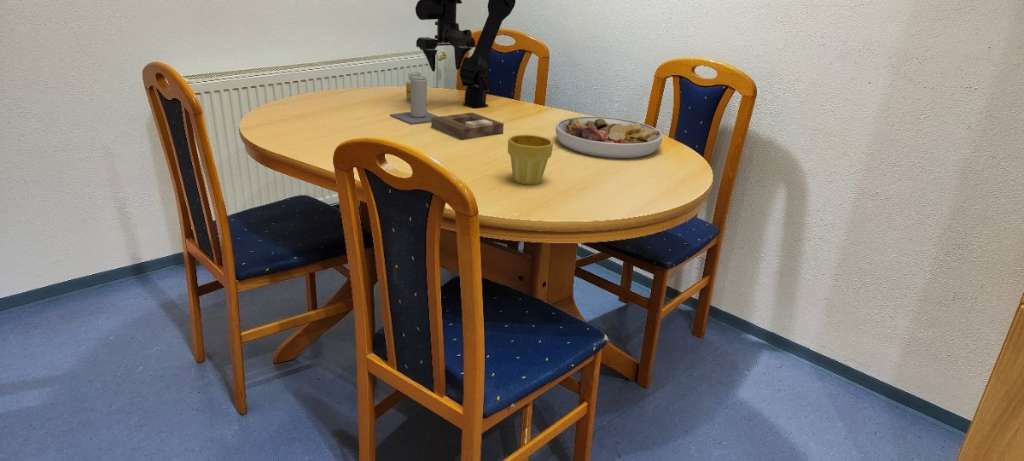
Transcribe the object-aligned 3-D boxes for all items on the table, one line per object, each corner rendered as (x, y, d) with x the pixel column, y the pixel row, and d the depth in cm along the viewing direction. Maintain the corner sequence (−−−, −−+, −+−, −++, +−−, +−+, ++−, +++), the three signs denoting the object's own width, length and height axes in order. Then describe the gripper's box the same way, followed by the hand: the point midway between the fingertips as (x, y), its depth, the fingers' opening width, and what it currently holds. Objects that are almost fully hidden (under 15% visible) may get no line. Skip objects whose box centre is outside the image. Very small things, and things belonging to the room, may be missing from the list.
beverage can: (429, 116, 207) (430, 77, 202) (419, 119, 203) (420, 79, 198) (417, 113, 209) (417, 75, 205) (407, 116, 205) (407, 76, 201)
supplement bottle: (405, 100, 228) (405, 71, 224) (420, 100, 229) (421, 71, 226) (407, 104, 223) (407, 74, 219) (423, 104, 225) (424, 74, 221)
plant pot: (558, 181, 159) (562, 141, 155) (530, 190, 151) (533, 148, 148) (525, 170, 165) (528, 131, 161) (496, 179, 158) (498, 138, 154)
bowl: (581, 127, 210) (583, 102, 207) (674, 145, 197) (678, 119, 194) (535, 147, 186) (538, 119, 183) (638, 169, 173) (642, 139, 169)
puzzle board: (472, 122, 206) (472, 109, 205) (503, 133, 196) (503, 120, 194) (431, 127, 197) (431, 114, 195) (461, 140, 187) (461, 126, 185)
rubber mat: (423, 111, 214) (423, 110, 214) (444, 120, 206) (444, 118, 206) (390, 115, 207) (390, 114, 207) (411, 124, 199) (411, 123, 198)
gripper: (436, 22, 195) (435, 77, 201) (486, 21, 206) (484, 73, 212) (415, 18, 202) (415, 70, 208) (465, 17, 214) (463, 67, 220)
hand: (445, 70), depth 212 cm, fingers open, 9 cm apart
